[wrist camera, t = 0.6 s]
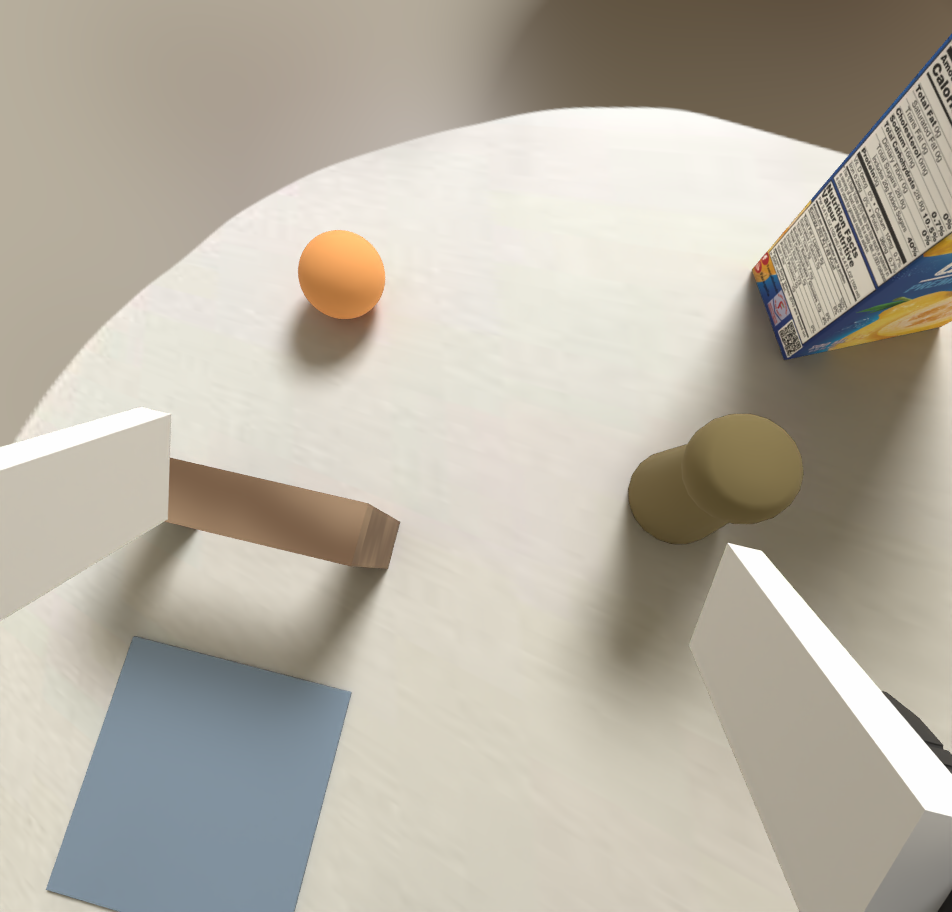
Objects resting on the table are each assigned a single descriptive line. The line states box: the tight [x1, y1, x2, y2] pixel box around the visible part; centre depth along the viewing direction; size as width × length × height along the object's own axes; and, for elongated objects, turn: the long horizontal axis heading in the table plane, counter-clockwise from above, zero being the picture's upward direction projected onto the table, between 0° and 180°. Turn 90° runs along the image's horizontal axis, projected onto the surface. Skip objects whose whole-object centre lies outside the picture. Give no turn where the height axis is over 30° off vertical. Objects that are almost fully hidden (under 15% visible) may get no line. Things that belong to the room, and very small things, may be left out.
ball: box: [298, 230, 385, 319], centre depth 36 cm, size 6×6×6 cm
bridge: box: [165, 458, 400, 569], centre depth 31 cm, size 3×14×9 cm, turn 77°
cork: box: [628, 414, 803, 544], centre depth 29 cm, size 6×6×11 cm
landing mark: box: [46, 636, 352, 912], centre depth 32 cm, size 14×14×1 cm
